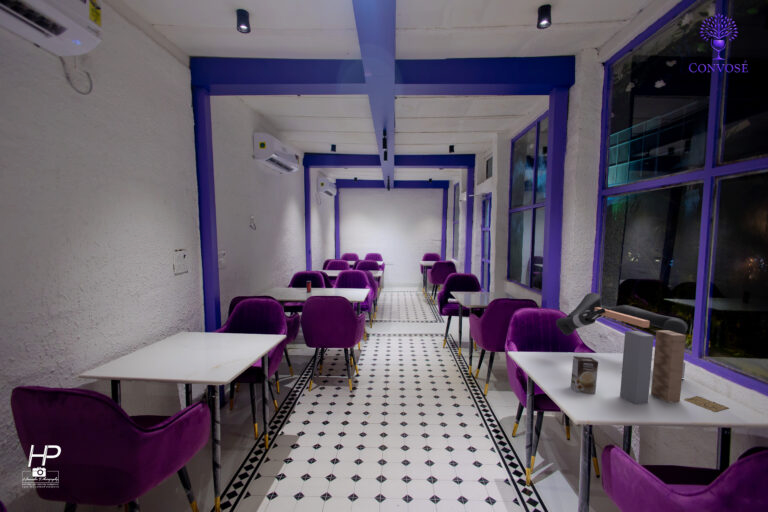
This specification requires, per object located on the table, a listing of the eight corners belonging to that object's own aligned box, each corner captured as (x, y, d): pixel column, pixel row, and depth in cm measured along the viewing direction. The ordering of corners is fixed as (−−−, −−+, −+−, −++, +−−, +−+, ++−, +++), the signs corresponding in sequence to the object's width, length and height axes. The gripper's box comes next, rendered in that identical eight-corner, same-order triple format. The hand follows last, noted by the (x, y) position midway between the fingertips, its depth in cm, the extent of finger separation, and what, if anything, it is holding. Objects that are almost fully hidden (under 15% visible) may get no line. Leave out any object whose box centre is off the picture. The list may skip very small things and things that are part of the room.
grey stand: (619, 395, 159) (625, 331, 157) (632, 395, 160) (637, 330, 158) (635, 404, 151) (641, 336, 149) (647, 403, 152) (653, 335, 150)
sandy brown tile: (682, 400, 157) (682, 398, 157) (697, 396, 162) (697, 395, 162) (715, 413, 146) (715, 411, 146) (729, 409, 151) (730, 407, 150)
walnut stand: (650, 394, 162) (656, 330, 160) (662, 393, 163) (668, 330, 161) (667, 402, 154) (673, 335, 152) (679, 401, 155) (685, 335, 154)
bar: (594, 312, 178) (594, 307, 177) (599, 312, 178) (599, 307, 178) (643, 327, 150) (644, 321, 150) (649, 327, 151) (649, 321, 150)
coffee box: (576, 392, 161) (578, 360, 160) (570, 386, 167) (572, 355, 166) (596, 394, 160) (598, 361, 159) (589, 388, 166) (591, 357, 165)
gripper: (596, 325, 186) (621, 316, 171) (575, 325, 184) (598, 317, 168) (592, 312, 189) (616, 303, 174) (571, 312, 187) (593, 303, 172)
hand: (607, 310), depth 171 cm, fingers closed on bar, 3 cm apart
